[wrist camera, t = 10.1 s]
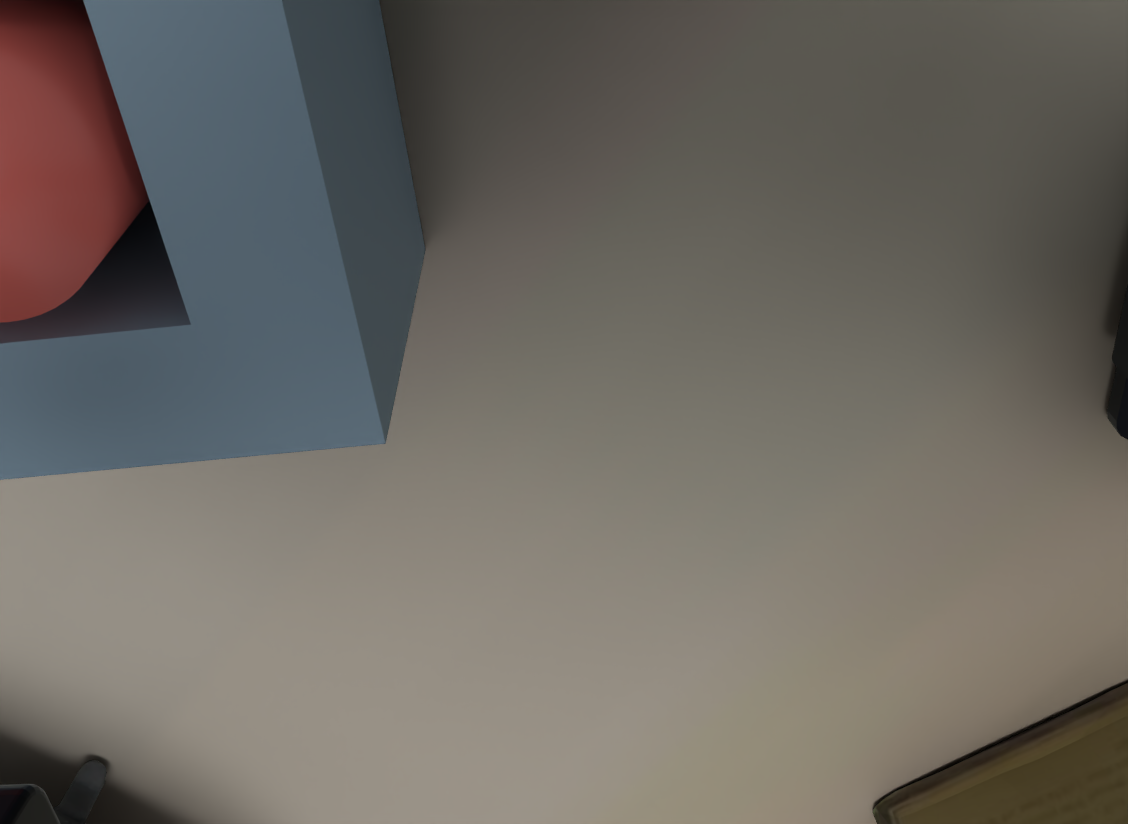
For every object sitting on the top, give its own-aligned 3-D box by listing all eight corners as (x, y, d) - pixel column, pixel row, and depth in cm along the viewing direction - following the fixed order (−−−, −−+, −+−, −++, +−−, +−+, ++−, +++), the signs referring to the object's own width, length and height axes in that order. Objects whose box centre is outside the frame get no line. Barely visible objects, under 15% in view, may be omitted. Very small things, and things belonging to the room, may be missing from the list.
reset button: (179, -61, 15) (40, 28, 11) (240, 159, 17) (141, 309, 12) (-43, -36, 15) (-267, 61, 11) (40, 179, 17) (-124, 335, 13)
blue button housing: (326, -285, 15) (215, -283, 10) (425, 249, 19) (385, 443, 14) (-241, -218, 15) (-637, -181, 10) (-13, 293, 19) (-207, 498, 14)
